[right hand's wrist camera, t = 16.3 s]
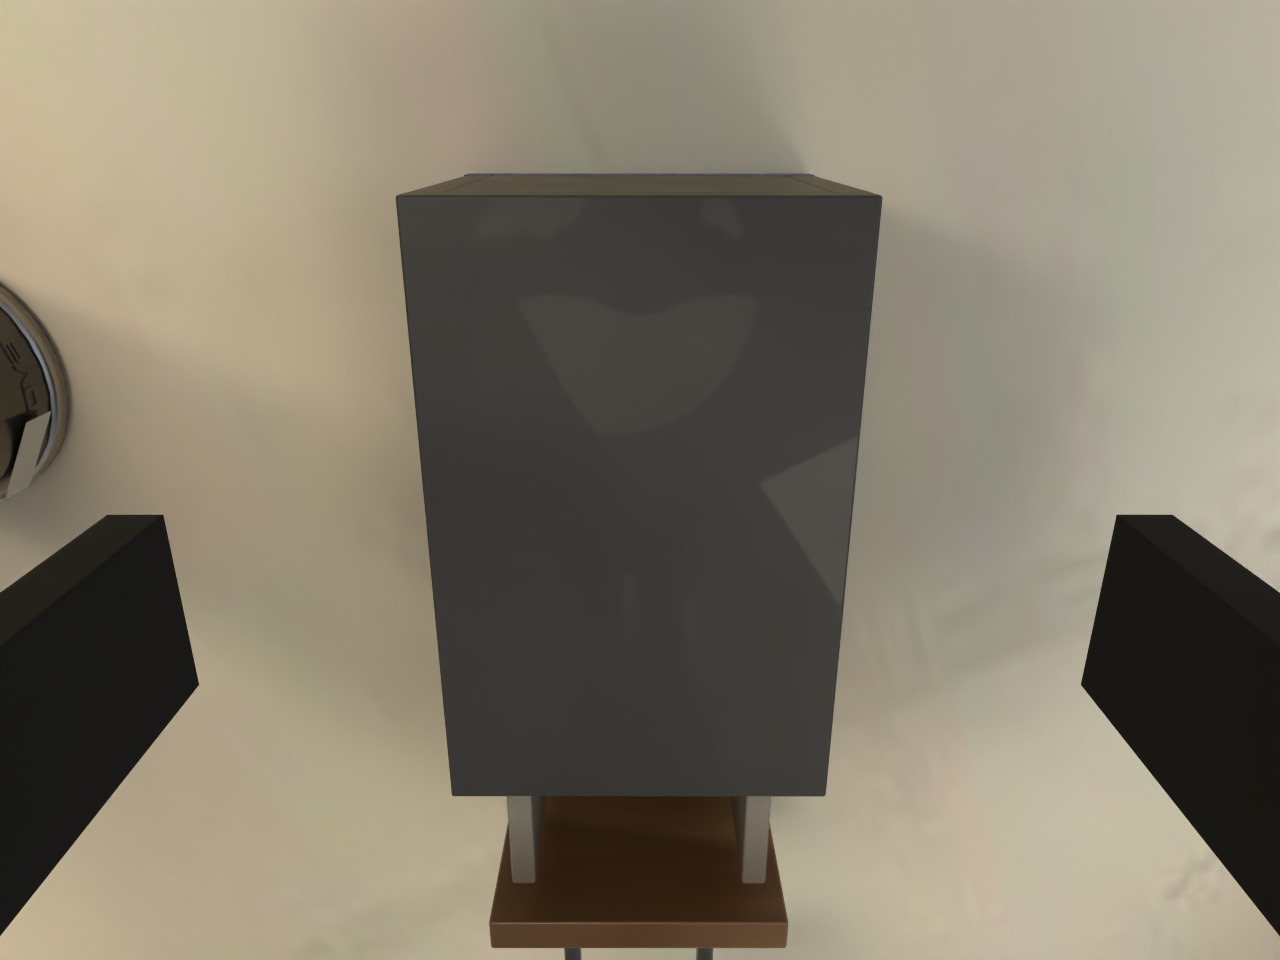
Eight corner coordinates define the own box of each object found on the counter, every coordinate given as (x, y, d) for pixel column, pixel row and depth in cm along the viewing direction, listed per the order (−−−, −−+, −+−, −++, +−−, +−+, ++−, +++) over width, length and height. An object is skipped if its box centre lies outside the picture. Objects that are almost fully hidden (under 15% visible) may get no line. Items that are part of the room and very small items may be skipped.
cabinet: (778, 627, 37) (826, 797, 27) (499, 627, 37) (451, 797, 27) (808, 173, 30) (883, 194, 21) (469, 173, 30) (394, 194, 21)
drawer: (751, 898, 41) (776, 1072, 33) (526, 898, 41) (500, 1072, 33) (779, 426, 32) (822, 516, 25) (498, 426, 32) (455, 516, 25)
